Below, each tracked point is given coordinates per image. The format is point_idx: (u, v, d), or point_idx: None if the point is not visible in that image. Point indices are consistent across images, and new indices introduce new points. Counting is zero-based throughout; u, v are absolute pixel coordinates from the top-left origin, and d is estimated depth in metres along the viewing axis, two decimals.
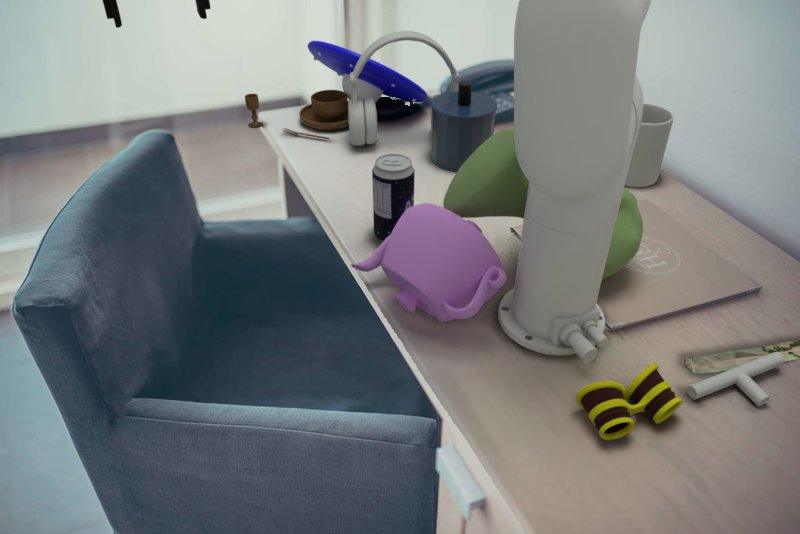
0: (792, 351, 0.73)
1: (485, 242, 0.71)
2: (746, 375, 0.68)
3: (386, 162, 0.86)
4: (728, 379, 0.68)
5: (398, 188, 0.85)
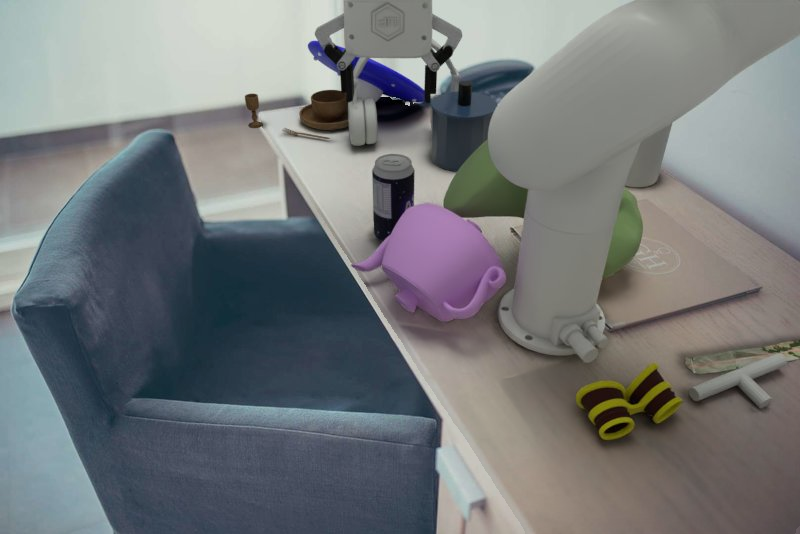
0: (792, 351, 0.73)
1: (485, 242, 0.71)
2: (748, 377, 0.68)
3: (386, 162, 0.86)
4: (730, 381, 0.68)
5: (398, 188, 0.85)
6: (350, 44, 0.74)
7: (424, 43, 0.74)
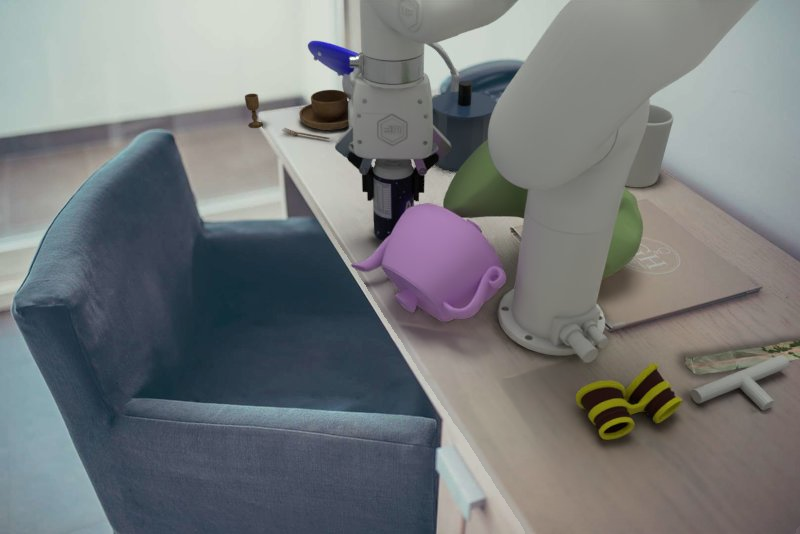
0: (792, 351, 0.73)
1: (485, 242, 0.71)
2: (750, 379, 0.68)
3: (386, 162, 0.86)
4: (732, 383, 0.67)
5: (398, 188, 0.85)
6: (358, 148, 0.81)
7: (425, 147, 0.81)
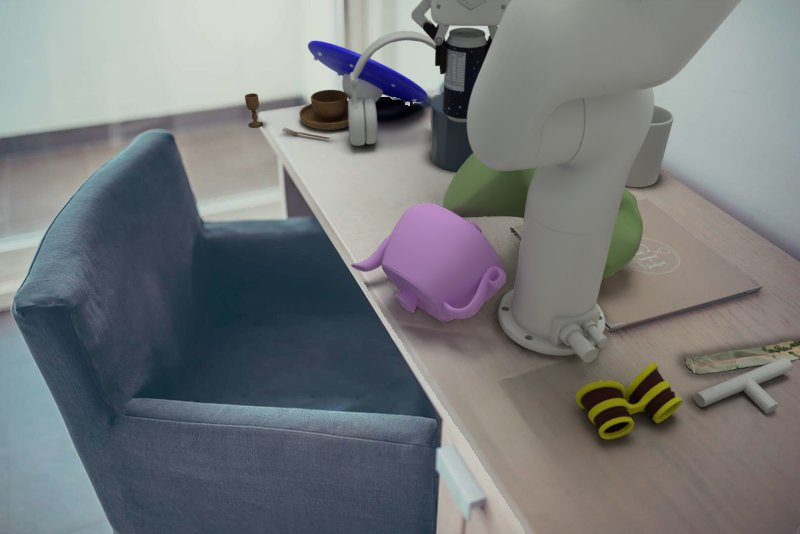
0: (792, 351, 0.73)
1: (485, 242, 0.71)
2: (754, 382, 0.67)
3: (460, 33, 0.87)
4: (736, 386, 0.67)
5: (472, 58, 0.86)
6: (436, 13, 0.83)
7: (502, 12, 0.82)
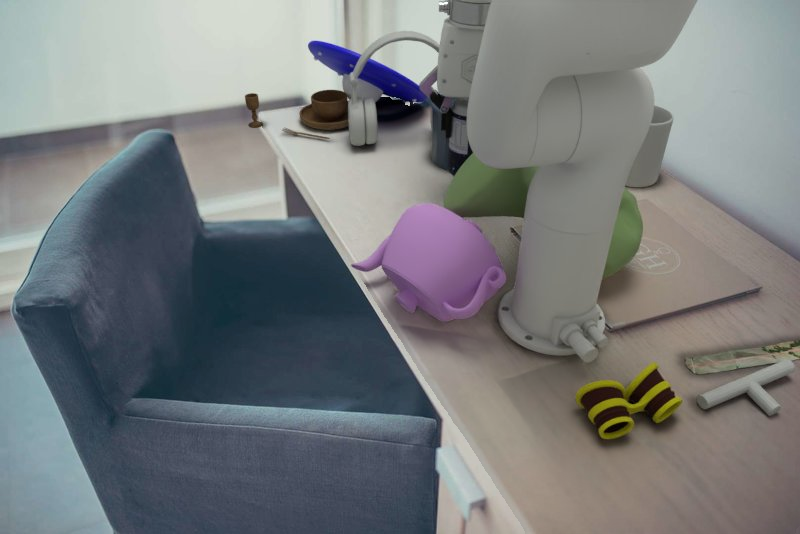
0: (792, 351, 0.73)
1: (485, 242, 0.71)
2: (757, 384, 0.67)
3: (464, 102, 0.94)
4: (738, 388, 0.67)
5: None
6: (442, 87, 0.90)
7: None
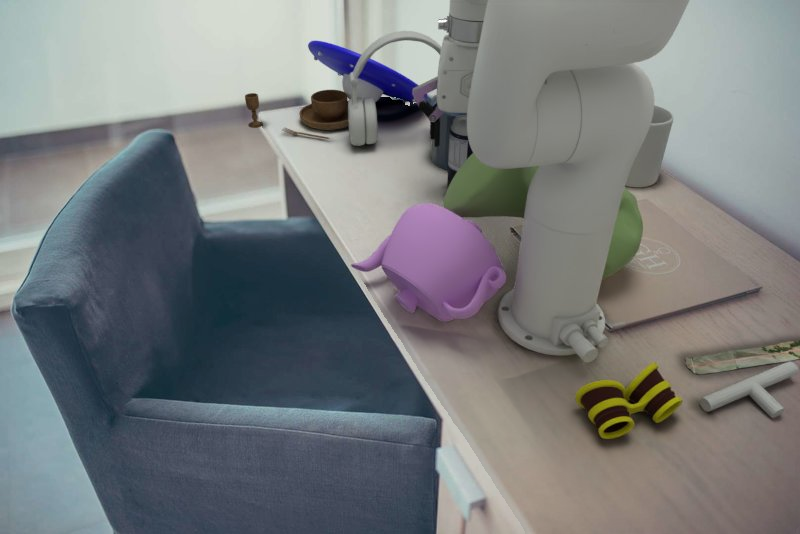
0: (792, 351, 0.73)
1: (485, 242, 0.71)
2: (759, 386, 0.67)
3: (463, 121, 0.96)
4: (741, 390, 0.67)
5: None
6: (442, 102, 0.91)
7: None
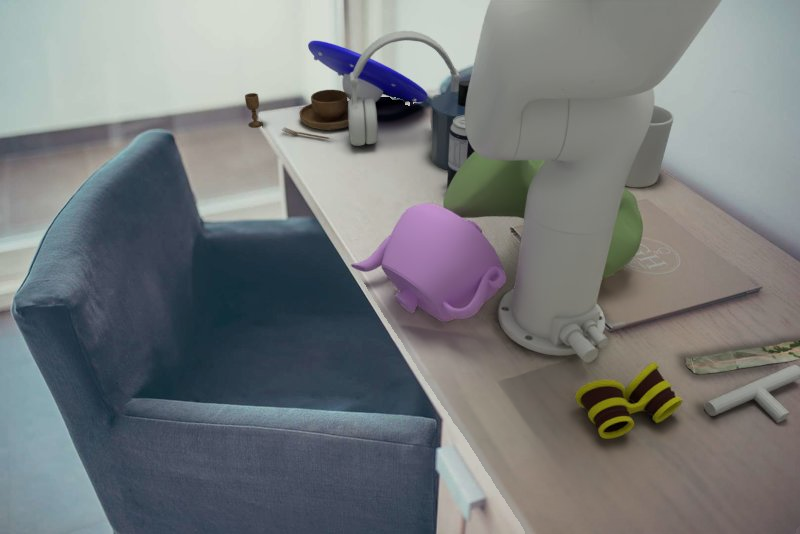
0: (792, 351, 0.73)
1: (485, 242, 0.71)
2: (764, 390, 0.66)
3: (463, 121, 0.96)
4: (746, 394, 0.66)
5: None
6: None
7: None
